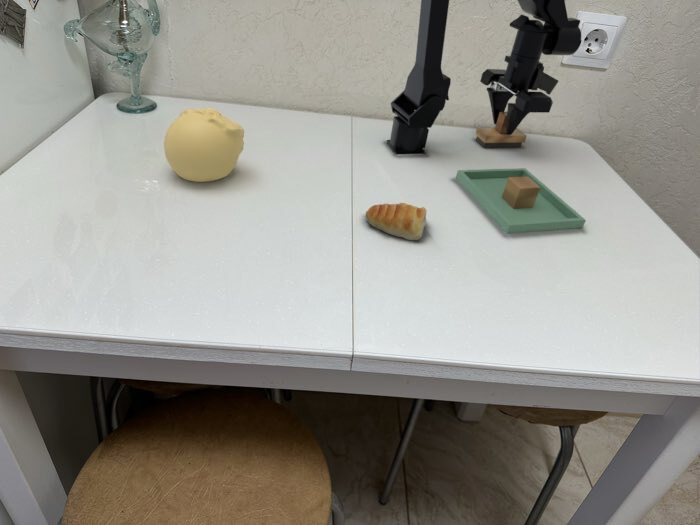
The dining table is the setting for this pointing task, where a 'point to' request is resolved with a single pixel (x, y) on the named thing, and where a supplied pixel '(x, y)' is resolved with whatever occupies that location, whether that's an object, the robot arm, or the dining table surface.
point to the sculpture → (203, 145)
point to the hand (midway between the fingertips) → (502, 129)
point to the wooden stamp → (499, 135)
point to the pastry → (398, 219)
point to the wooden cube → (520, 192)
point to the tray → (541, 217)
